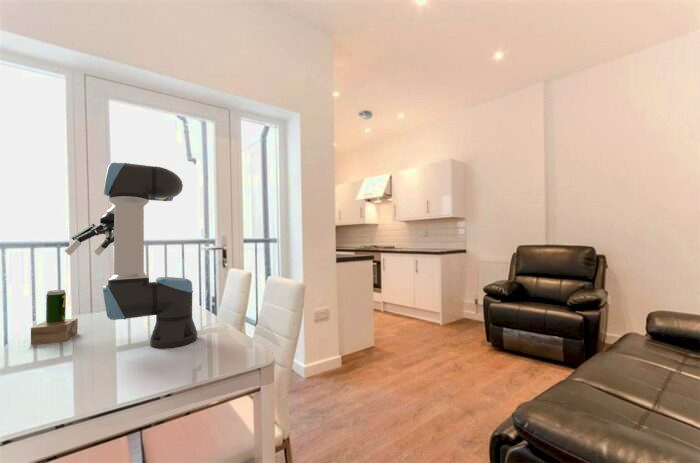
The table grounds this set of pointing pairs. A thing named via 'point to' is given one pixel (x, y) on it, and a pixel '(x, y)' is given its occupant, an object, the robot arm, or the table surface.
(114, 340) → the table surface
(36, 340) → the walnut block
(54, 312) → the guarana soda can
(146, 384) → the table surface
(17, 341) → the table surface
